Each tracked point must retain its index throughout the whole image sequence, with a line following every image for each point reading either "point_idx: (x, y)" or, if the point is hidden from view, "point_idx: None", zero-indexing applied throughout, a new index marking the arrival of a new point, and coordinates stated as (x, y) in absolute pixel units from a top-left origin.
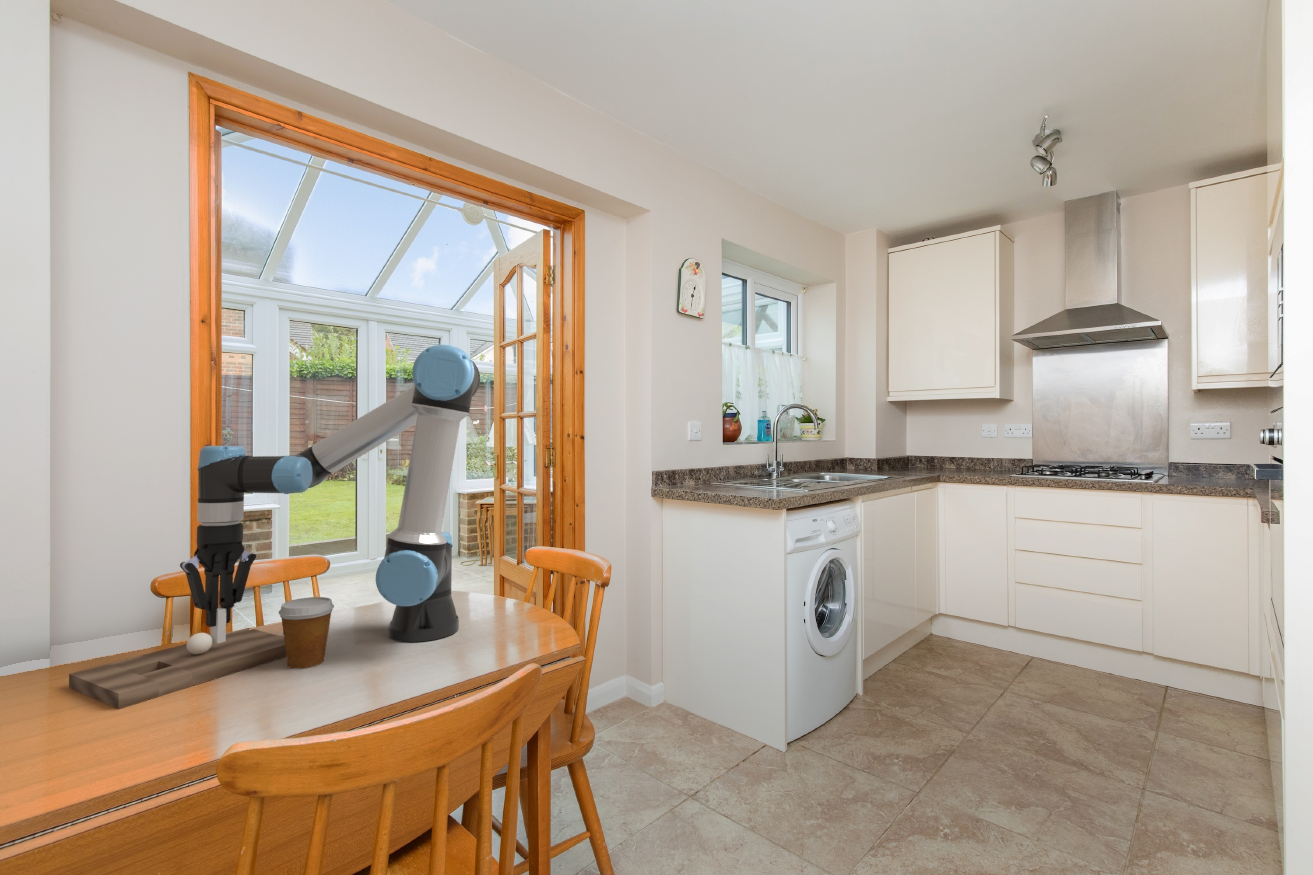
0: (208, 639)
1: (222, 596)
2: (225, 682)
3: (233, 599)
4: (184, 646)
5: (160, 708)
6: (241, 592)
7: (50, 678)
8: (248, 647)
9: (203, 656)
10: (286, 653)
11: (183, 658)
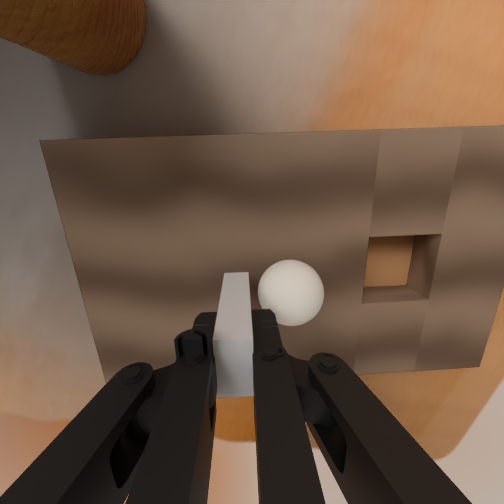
0: (281, 272)
1: (209, 428)
2: (308, 78)
3: (157, 389)
4: None
5: (484, 32)
6: (94, 413)
7: (431, 416)
8: (182, 217)
9: (291, 246)
10: (132, 3)
11: (323, 274)
